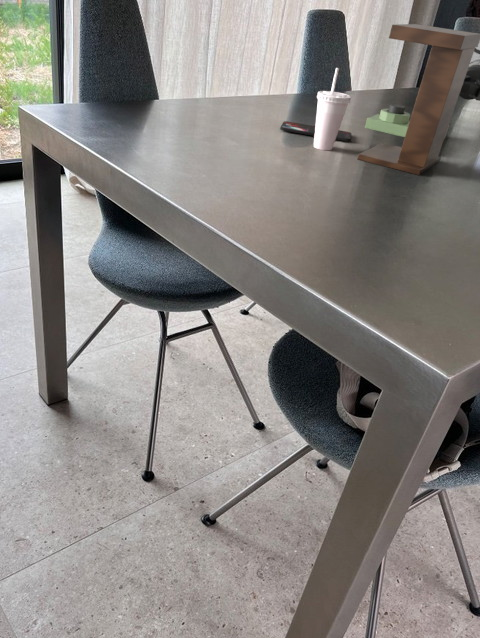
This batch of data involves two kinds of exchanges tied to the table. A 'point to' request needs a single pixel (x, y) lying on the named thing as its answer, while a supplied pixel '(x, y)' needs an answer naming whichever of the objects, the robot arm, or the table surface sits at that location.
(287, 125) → the smartphone
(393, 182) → the table surface
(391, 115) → the switch box
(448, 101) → the shelf
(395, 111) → the button
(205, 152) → the table surface
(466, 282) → the table surface
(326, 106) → the smoothie
